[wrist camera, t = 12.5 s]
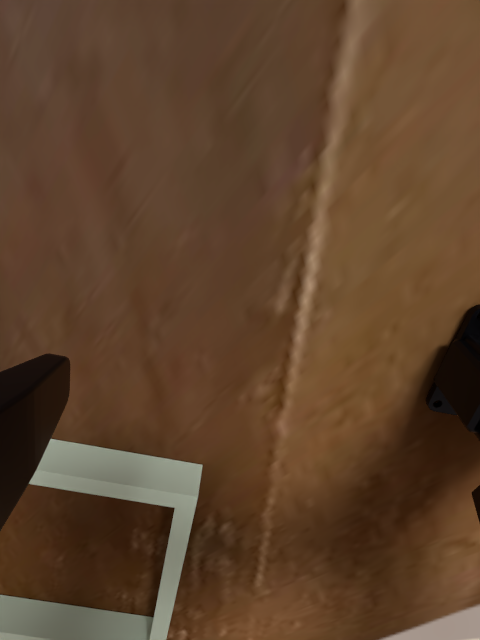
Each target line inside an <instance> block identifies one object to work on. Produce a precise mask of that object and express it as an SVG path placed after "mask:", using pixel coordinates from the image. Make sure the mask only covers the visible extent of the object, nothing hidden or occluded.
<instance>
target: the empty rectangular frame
mask: <svg viewBox="0 0 480 640" xmlns="http://www.w3.org/2000/svg"><path fill="white" fill-rule="evenodd" d="M202 466H203V465H200V464H195V463H189V462H183V461H177V460H171V459H165V458H160V457H154V456H148V455H142V454H136V453H131V452H125V451H119V450H113V449H107V448H101V447H96V446H90V445H84V444H78V443H72V442H67V441H61V440H55V439H50V441H49V444H48V446H47V448H46V450H45V452H44V455H43V457H42V459H41V461H40V463H39V465H38V467H37V470H36V472H35V473H34V475H33V477H32V479H31V480H30V482H29V484H33V485H39V486H45V487H51V488H57V489H63V490H70V491H76V492H82V493H88V494H94V495H100V496H106V497H112V498H118V499H124V500H130V501H136V502H142V503H149V504H155V505H161V506H167V507H173V508H175V510H174V515H173V520H172V525H171V531H170V536H169V541H168V546H167V551H166V557H165V562H164V567H163V572H162V577H161V582H160V588H159V593H158V598H157V603H156V608H155V614H154V617H148V616H141V615H134V614H128V613H121V612H114V611H107V610H100V609H94V608H87V607H80V606H73V605H66V604H60V603H53V602H46V601H39V600H33V599H26V598H19V597H12V596H5V595H0V640H166V638H167V634H168V629H169V625H170V620H171V616H172V611H173V607H174V602H175V598H176V593H177V589H178V584H179V580H180V575H181V571H182V566H183V562H184V557H185V553H186V549H187V544H188V540H189V535H190V531H191V526H192V522H193V517H194V513H195V508H196V504H197V499H198V494H199V487H200V480H201V473H202Z"/></svg>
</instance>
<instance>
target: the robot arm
mask: <svg viewBox="0 0 480 640" xmlns="http://www.w3.org/2000/svg"><path fill="white" fill-rule="evenodd" d="M479 313H480V305H476V306H474V307H472V308H471V309H470V311H469V312H468V314H467V316H466V318H465V320H464V322H463V324H462V327H461V329H460V331H459V333H458V335H457V337H456V339H455V341H453V342H452V343H451V345H450V348H449V350H448V352H447V354H446V356H445V358H444V360H443V362H442V364H441V366H440V368H439V370H438V372H437V374H436V376H435V378H434V381H435V382H434V384H433V386H432V388H431V390H430V392H429V394H428V396H427V398H426V404H427V405H428V407H429V408H430V409H431V410H433V411H437V412H442V413H447V414H453V415H458V417H459V418H460V420H461V421H462V423H463V424H464V425H465V427H466V428H467V430H468V431H469V432H474V434H475V435H476V436H477V438H478V439H479V441H480V317H479V318H477V315H478V314H479ZM69 391H70V361H69V359H68V358H67V357H65V356H60V355H54V354H44V355H42V356H39V357H37V358H34V359H32V360H29V361H27V362H24V363H22V364H19V365H17V366H14V367H12V368H9V369H7V370H4V371H1V372H0V531H1V529H2V527H3V526H4V524H5V522H6V521H7V519H8V517H9V516H10V514H11V512H12V511H13V509H14V507H15V506H16V504H17V502H18V501H19V499H20V497H21V496H22V494H23V492H24V491H25V489H26V487H27V486H28V484H29V482H30V480H31V479H32V477H33V475H34V473H35V472H36V470H37V467H38V465H39V463H40V461H41V459H42V457H43V455H44V452H45V450H46V448H47V446H48V444H49V441H50V439H51V437H52V435H53V433H54V430H55V428H56V426H57V424H58V422H59V419H60V417H61V415H62V413H63V411H64V408H65V406H66V404H67V401H68V397H69ZM437 400H439V401H438V402H437V403H434V402H435V401H437ZM472 496H473V500H474V504H475V507H476V511H477V515H478V519H479V522H480V485H479V486H478V487H477V488H476V489H475V490H474V491H473V492H472Z"/></svg>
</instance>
